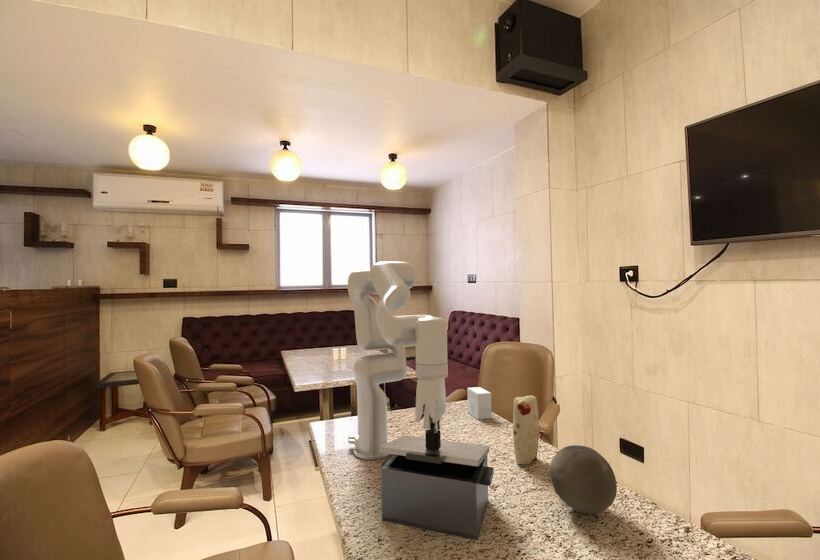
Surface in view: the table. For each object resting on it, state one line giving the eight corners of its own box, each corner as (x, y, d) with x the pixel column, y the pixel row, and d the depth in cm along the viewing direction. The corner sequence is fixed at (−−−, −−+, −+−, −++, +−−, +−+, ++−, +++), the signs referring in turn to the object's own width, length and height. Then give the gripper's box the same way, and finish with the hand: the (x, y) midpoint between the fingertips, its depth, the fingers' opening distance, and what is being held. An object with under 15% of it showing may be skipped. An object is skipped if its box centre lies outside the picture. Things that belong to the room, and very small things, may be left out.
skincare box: (492, 418, 155) (491, 392, 155) (478, 420, 154) (477, 393, 154) (480, 410, 165) (480, 386, 166) (467, 412, 164) (466, 387, 164)
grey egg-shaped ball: (562, 489, 100) (561, 432, 101) (622, 509, 91) (621, 445, 92) (542, 515, 89) (541, 450, 90) (609, 539, 80) (607, 468, 81)
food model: (526, 470, 111) (525, 401, 111) (507, 462, 116) (506, 396, 117) (545, 460, 117) (543, 395, 118) (526, 453, 122) (524, 390, 123)
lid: (374, 454, 86) (375, 448, 87) (404, 440, 104) (404, 435, 104) (476, 469, 79) (476, 462, 79) (489, 451, 96) (489, 446, 96)
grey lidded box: (373, 518, 89) (372, 466, 89) (398, 484, 104) (397, 440, 104) (487, 542, 80) (486, 484, 80) (497, 501, 95) (496, 453, 95)
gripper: (425, 363, 98) (427, 434, 98) (405, 375, 84) (407, 459, 84) (454, 364, 96) (455, 438, 95) (438, 378, 82) (440, 464, 81)
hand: (433, 448), depth 90 cm, fingers closed
